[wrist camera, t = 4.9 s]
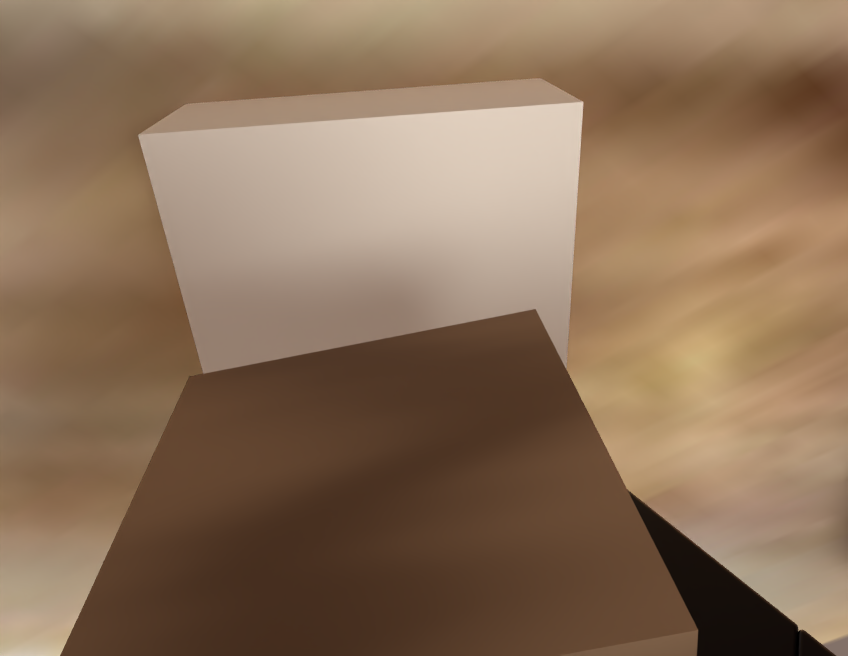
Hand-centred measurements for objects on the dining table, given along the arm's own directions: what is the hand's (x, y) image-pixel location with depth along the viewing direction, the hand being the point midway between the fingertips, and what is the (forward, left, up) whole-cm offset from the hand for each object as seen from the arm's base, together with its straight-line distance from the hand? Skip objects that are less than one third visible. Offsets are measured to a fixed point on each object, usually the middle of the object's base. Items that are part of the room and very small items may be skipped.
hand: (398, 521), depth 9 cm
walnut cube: (0, 0, -1) cm, 1 cm away
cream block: (0, 0, -10) cm, 11 cm away
